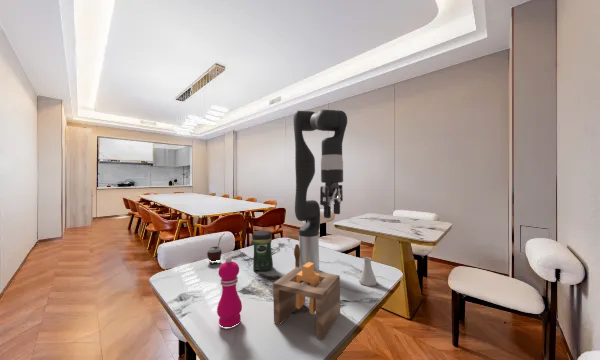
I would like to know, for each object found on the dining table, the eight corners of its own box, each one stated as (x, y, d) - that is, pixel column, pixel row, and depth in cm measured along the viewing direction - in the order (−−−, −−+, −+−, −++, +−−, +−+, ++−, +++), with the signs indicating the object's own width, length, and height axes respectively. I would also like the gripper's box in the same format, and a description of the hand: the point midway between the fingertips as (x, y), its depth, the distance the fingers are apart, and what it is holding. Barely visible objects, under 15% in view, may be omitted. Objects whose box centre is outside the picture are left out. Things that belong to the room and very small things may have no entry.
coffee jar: (273, 265, 116) (272, 228, 116) (272, 271, 108) (271, 232, 108) (254, 265, 116) (253, 229, 116) (251, 272, 108) (250, 232, 108)
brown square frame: (273, 323, 69) (273, 283, 69) (296, 301, 81) (296, 267, 81) (323, 339, 61) (322, 294, 61) (340, 312, 73) (339, 275, 73)
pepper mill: (220, 316, 73) (219, 253, 73) (244, 315, 73) (242, 252, 73) (214, 331, 65) (212, 261, 65) (240, 329, 66) (238, 260, 66)
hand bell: (285, 280, 98) (284, 243, 98) (302, 277, 101) (302, 241, 101) (292, 289, 90) (291, 248, 90) (311, 284, 94) (310, 245, 94)
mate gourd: (204, 265, 119) (204, 236, 119) (213, 259, 126) (212, 232, 126) (218, 265, 117) (217, 236, 117) (225, 260, 125) (225, 232, 125)
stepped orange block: (295, 307, 71) (296, 264, 71) (301, 301, 75) (302, 260, 74) (313, 313, 68) (314, 269, 68) (318, 307, 72) (319, 264, 71)
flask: (378, 287, 90) (377, 262, 90) (359, 285, 92) (358, 261, 92) (376, 279, 97) (375, 256, 97) (358, 278, 99) (358, 255, 99)
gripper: (330, 169, 86) (330, 212, 87) (312, 168, 74) (313, 218, 74) (349, 169, 83) (349, 213, 83) (334, 167, 70) (334, 220, 71)
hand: (332, 215), depth 79 cm, fingers open, 8 cm apart
